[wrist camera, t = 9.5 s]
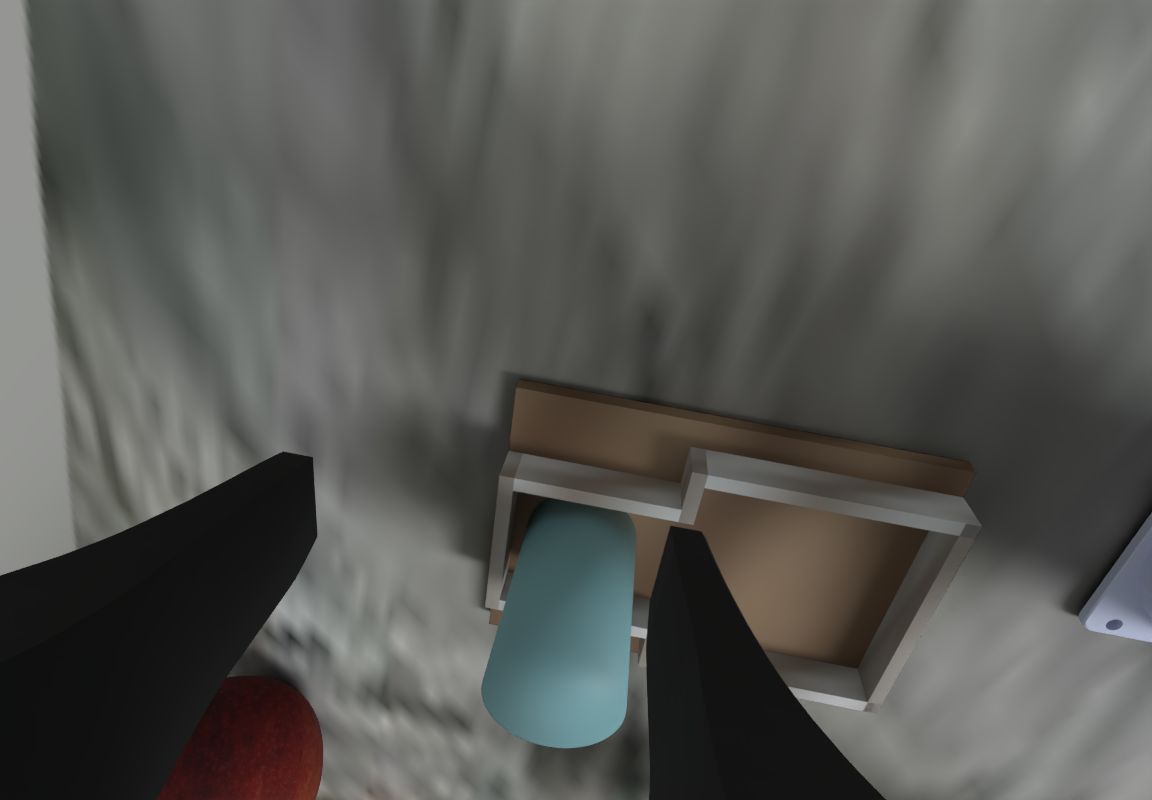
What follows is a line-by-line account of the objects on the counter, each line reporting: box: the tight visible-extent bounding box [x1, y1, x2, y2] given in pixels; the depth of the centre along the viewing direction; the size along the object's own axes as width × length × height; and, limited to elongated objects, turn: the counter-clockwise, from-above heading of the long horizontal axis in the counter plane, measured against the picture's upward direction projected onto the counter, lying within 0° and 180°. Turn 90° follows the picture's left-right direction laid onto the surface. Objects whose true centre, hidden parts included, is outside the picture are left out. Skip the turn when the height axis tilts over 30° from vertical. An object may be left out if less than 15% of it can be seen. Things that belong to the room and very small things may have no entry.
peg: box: [481, 497, 636, 748], centre depth 21 cm, size 4×4×7 cm
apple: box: [157, 676, 323, 800], centre depth 28 cm, size 7×8×8 cm
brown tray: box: [485, 379, 982, 713], centre depth 24 cm, size 15×11×2 cm
